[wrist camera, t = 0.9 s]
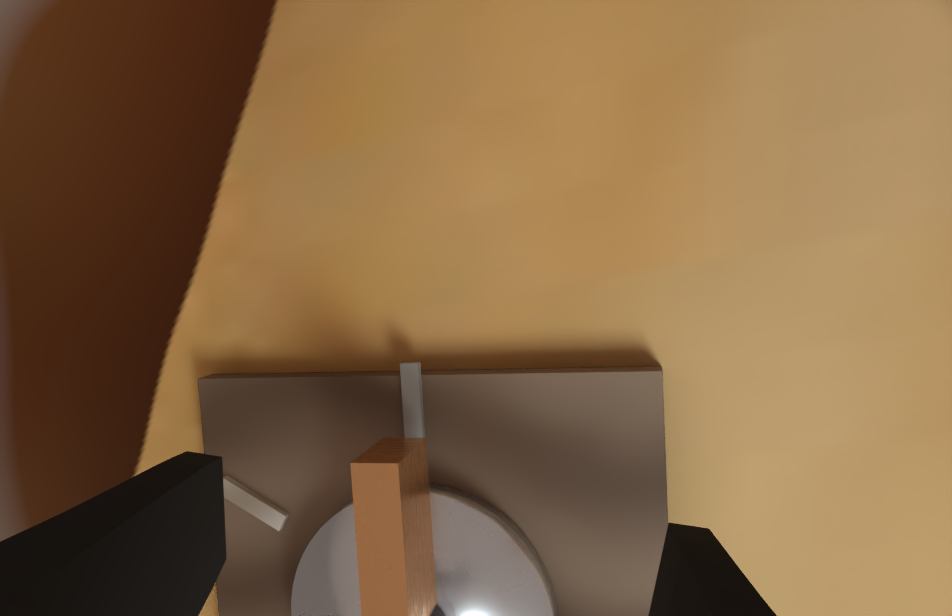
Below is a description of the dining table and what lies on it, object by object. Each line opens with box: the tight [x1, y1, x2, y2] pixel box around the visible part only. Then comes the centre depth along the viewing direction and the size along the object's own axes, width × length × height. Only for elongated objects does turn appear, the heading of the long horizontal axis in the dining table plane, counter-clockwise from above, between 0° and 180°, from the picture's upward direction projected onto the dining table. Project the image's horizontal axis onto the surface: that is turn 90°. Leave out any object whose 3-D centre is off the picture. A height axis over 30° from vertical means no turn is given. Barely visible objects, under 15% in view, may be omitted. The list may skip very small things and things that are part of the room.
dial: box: [291, 437, 558, 616], centre depth 25 cm, size 12×10×4 cm
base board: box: [198, 362, 668, 616], centre depth 27 cm, size 18×18×1 cm
